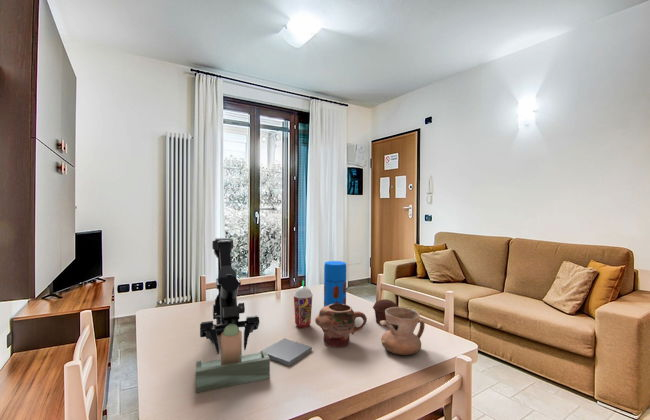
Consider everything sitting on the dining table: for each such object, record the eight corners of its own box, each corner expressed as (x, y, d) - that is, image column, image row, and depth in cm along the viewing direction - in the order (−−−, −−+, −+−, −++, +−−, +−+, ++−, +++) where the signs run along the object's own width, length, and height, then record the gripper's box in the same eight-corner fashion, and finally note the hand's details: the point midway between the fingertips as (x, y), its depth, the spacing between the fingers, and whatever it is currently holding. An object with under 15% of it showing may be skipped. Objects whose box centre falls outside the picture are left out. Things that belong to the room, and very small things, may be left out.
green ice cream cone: (219, 362, 102) (219, 322, 102) (238, 357, 106) (239, 319, 105) (223, 371, 97) (223, 329, 97) (243, 366, 100) (243, 326, 100)
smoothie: (309, 330, 134) (310, 283, 133) (290, 328, 136) (291, 282, 135) (314, 322, 142) (314, 278, 142) (296, 321, 144) (296, 277, 143)
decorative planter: (362, 334, 130) (362, 301, 129) (369, 348, 118) (370, 311, 117) (313, 336, 127) (314, 302, 127) (316, 350, 115) (316, 313, 115)
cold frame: (196, 369, 101) (196, 351, 101) (261, 358, 109) (261, 341, 109) (196, 392, 89) (196, 372, 89) (269, 378, 97) (269, 358, 97)
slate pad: (260, 355, 111) (260, 351, 111) (284, 342, 122) (284, 338, 122) (288, 366, 104) (288, 361, 104) (311, 350, 115) (311, 346, 115)
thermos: (349, 312, 155) (350, 262, 155) (339, 319, 146) (339, 266, 146) (331, 308, 161) (331, 260, 161) (319, 314, 152) (319, 263, 152)
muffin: (397, 318, 148) (397, 297, 148) (400, 327, 137) (400, 304, 137) (371, 317, 150) (372, 296, 149) (373, 326, 139) (373, 303, 138)
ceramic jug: (387, 361, 108) (388, 320, 107) (371, 342, 122) (373, 306, 121) (434, 357, 112) (436, 318, 111) (414, 339, 126) (415, 304, 125)
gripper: (200, 297, 101) (200, 346, 91) (258, 292, 108) (264, 336, 98) (199, 314, 108) (200, 360, 98) (254, 307, 115) (260, 350, 105)
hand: (231, 351), depth 100 cm, fingers open, 8 cm apart
